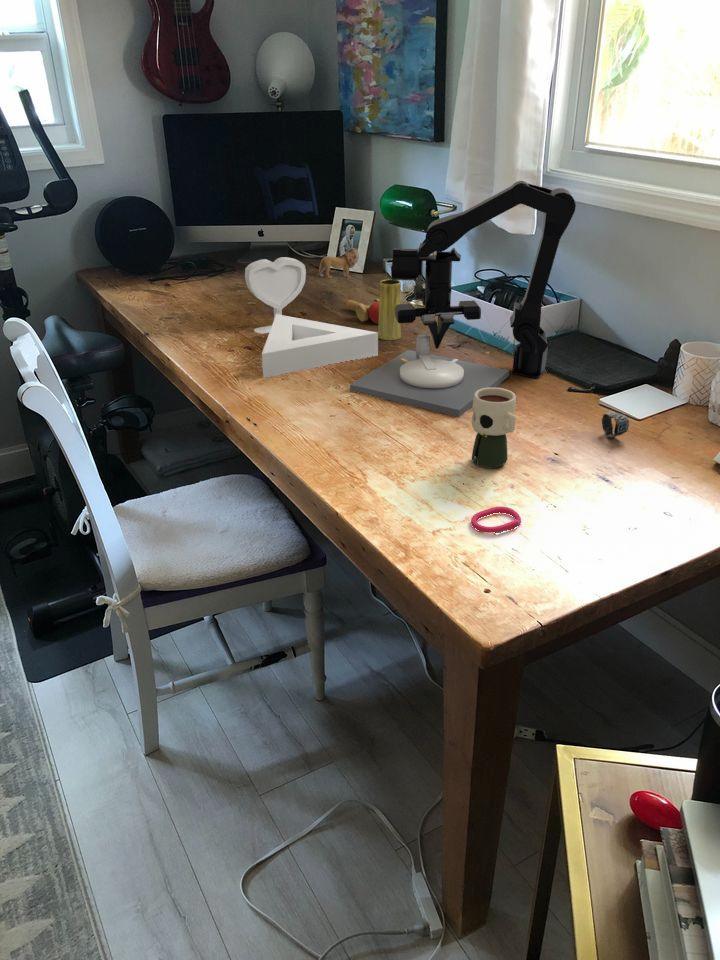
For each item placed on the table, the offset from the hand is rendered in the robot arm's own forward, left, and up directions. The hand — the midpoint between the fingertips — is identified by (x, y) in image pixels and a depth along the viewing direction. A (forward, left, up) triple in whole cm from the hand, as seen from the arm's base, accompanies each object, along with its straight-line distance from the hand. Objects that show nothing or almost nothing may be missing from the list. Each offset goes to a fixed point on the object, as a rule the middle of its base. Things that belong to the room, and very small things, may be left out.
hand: (436, 348), depth 175 cm
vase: (+20, -13, -5) cm, 25 cm away
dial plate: (-4, +10, -5) cm, 11 cm away
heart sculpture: (+49, -4, -5) cm, 50 cm away
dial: (-2, +8, -3) cm, 9 cm away
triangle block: (+30, +14, -5) cm, 34 cm away
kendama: (+34, -25, -5) cm, 42 cm away
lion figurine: (+66, -58, -5) cm, 88 cm away
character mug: (-30, +38, -5) cm, 48 cm away
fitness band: (-39, +56, -5) cm, 68 cm away
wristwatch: (-46, +16, -5) cm, 49 cm away
